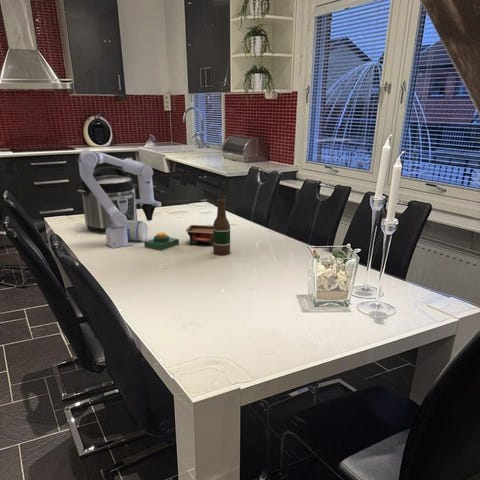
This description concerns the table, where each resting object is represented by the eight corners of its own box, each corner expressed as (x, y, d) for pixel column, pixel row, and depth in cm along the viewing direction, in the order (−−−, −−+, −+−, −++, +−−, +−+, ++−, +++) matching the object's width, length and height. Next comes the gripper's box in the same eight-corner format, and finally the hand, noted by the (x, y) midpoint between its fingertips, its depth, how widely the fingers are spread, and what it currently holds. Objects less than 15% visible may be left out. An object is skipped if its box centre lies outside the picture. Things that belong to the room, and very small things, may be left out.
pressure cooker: (80, 236, 234) (72, 170, 221) (85, 224, 259) (77, 164, 246) (141, 233, 241) (136, 169, 228) (140, 222, 266) (135, 163, 253)
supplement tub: (142, 243, 224) (113, 242, 226) (149, 238, 232) (121, 236, 235) (139, 223, 219) (110, 222, 222) (147, 218, 228) (119, 217, 230)
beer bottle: (228, 255, 206) (228, 200, 196) (211, 254, 207) (210, 199, 197) (231, 251, 213) (232, 197, 203) (215, 250, 214) (214, 196, 204)
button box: (160, 250, 212) (160, 241, 210) (144, 247, 217) (143, 237, 215) (179, 244, 222) (178, 235, 220) (163, 241, 227) (162, 232, 225)
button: (161, 238, 216) (161, 235, 215) (155, 237, 217) (155, 233, 217) (167, 237, 219) (167, 233, 218) (161, 235, 221) (160, 232, 220)
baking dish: (217, 251, 219) (220, 231, 215) (181, 243, 221) (183, 222, 217) (223, 246, 232) (227, 226, 228) (189, 238, 234) (192, 218, 230)
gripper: (164, 191, 216) (166, 220, 222) (141, 188, 223) (144, 217, 229) (154, 193, 211) (156, 223, 216) (130, 190, 218) (133, 219, 223)
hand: (149, 220), depth 222 cm, fingers closed
